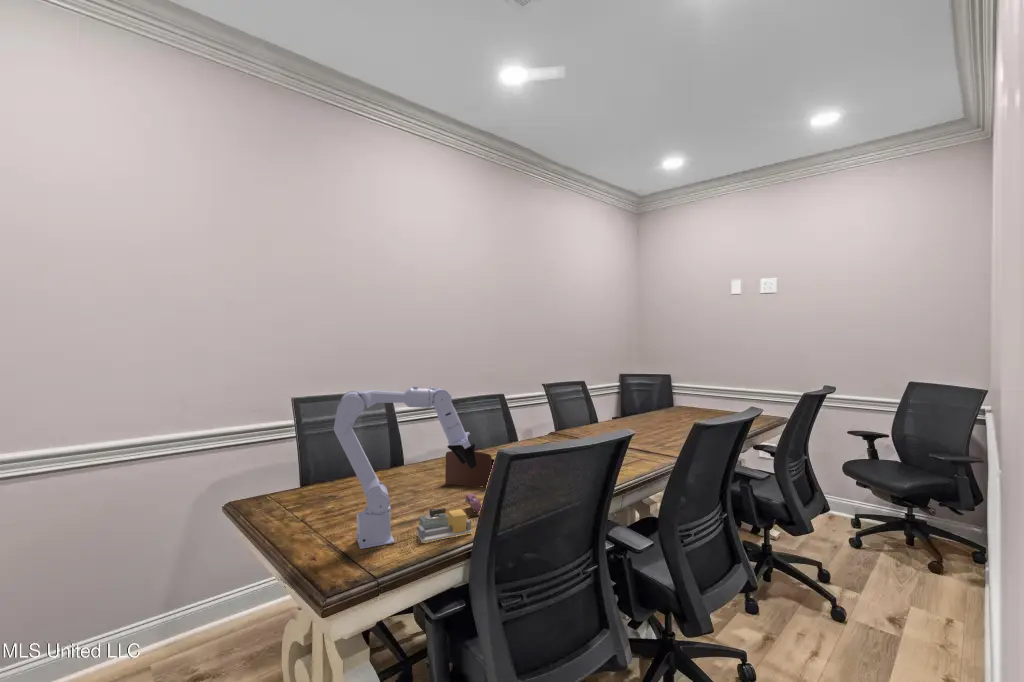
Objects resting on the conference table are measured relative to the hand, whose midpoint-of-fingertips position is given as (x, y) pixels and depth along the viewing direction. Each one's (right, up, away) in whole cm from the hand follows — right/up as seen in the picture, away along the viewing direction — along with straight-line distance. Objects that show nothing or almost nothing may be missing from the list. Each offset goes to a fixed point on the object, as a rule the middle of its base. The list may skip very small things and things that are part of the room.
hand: (469, 464), depth 145 cm
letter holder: (-3, -20, +47) cm, 51 cm away
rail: (-7, -20, -5) cm, 21 cm away
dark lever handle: (-10, -16, +2) cm, 19 cm away
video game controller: (+1, -20, +15) cm, 25 cm away
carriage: (-3, -18, -4) cm, 19 cm away
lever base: (-11, -20, +1) cm, 23 cm away
